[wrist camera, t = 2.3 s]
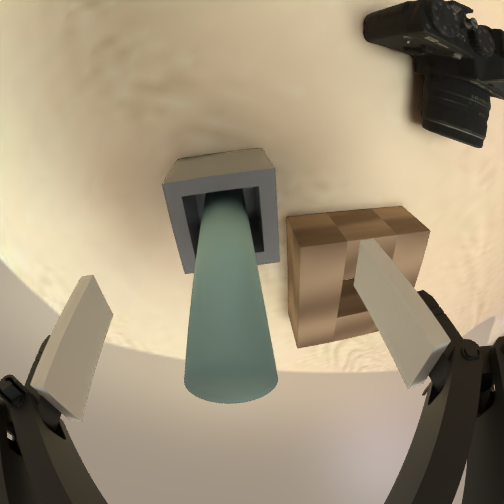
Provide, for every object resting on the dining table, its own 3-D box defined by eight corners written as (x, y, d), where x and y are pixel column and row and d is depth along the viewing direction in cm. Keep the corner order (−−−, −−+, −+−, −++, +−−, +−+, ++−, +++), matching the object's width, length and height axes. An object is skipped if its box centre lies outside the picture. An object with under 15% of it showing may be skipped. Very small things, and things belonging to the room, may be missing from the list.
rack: (286, 217, 24) (300, 247, 20) (402, 206, 24) (430, 230, 20) (288, 313, 30) (297, 348, 26) (382, 296, 31) (400, 325, 27)
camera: (355, 112, 19) (433, 136, 11) (360, 1, 13) (435, -29, 5) (463, 141, 21) (532, 176, 12) (470, 53, 15) (543, 64, 6)
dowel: (202, 180, 21) (171, 362, 7) (241, 174, 21) (276, 352, 7) (208, 214, 22) (197, 405, 9) (245, 209, 22) (278, 398, 9)
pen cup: (177, 159, 20) (161, 183, 15) (261, 148, 20) (274, 168, 15) (192, 232, 24) (185, 273, 19) (267, 222, 24) (279, 262, 19)
